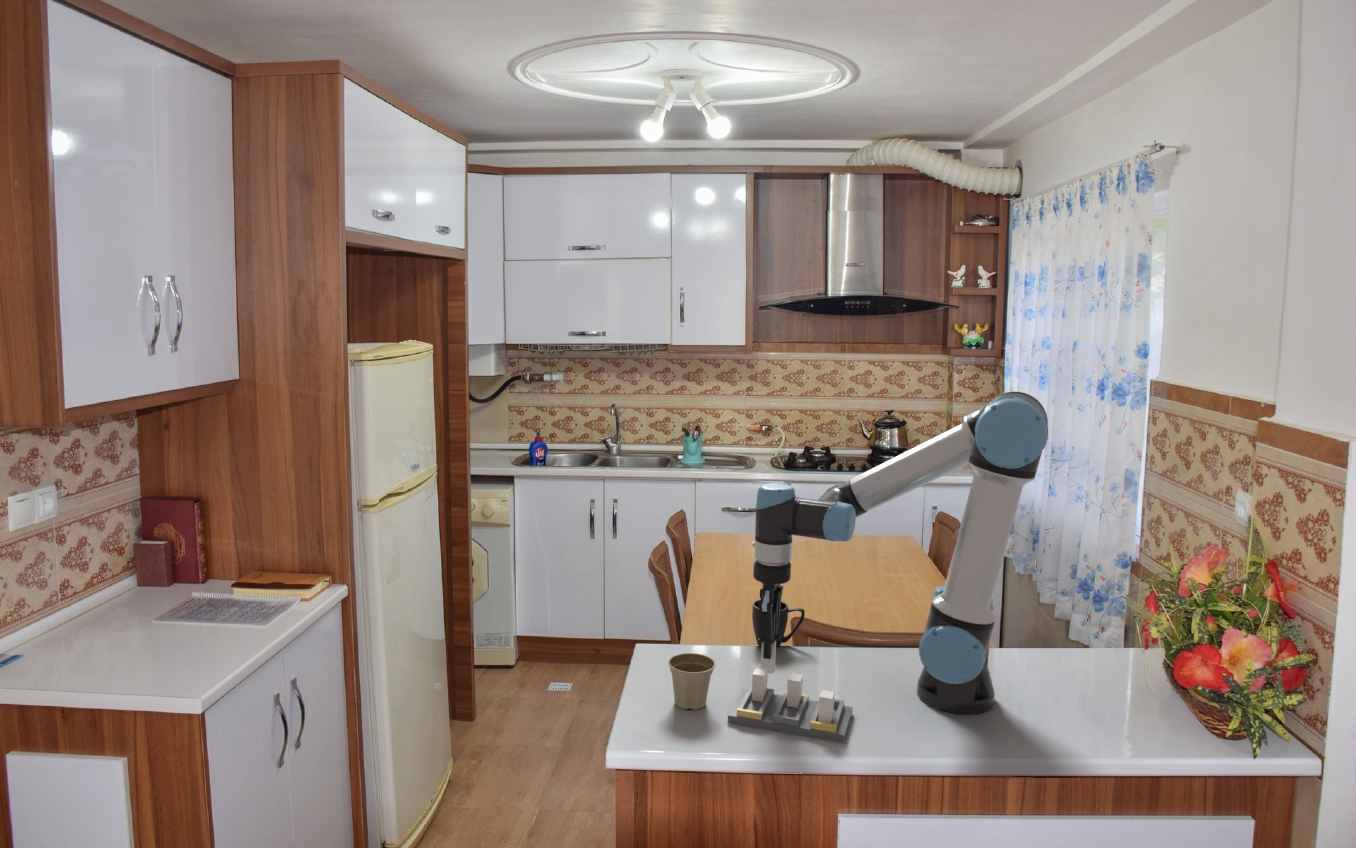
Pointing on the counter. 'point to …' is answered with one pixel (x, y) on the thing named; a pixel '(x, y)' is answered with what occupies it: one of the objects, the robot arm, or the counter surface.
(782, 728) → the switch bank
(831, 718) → the tab
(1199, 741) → the counter surface
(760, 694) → the tab
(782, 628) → the mug
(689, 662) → the flower pot
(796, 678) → the tab
